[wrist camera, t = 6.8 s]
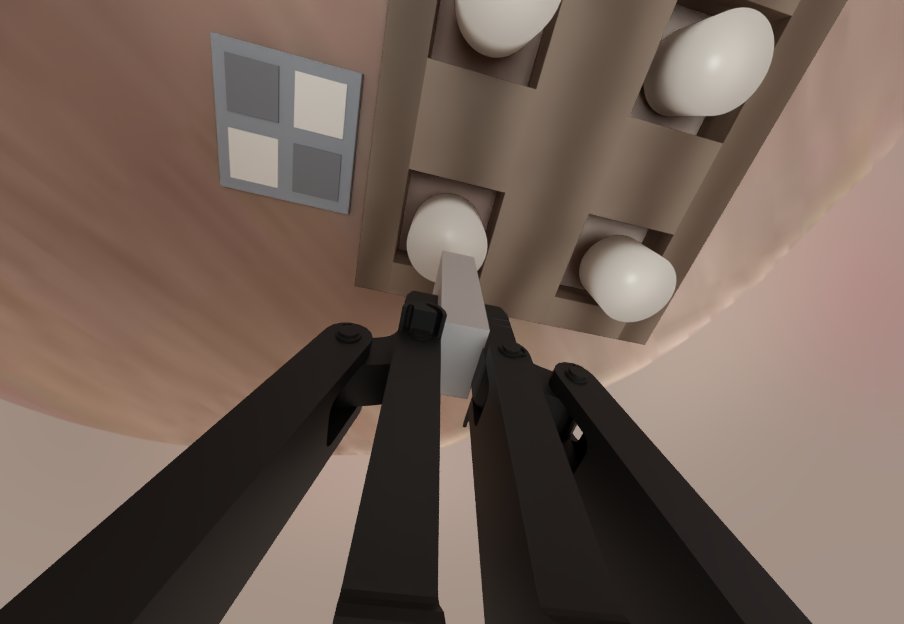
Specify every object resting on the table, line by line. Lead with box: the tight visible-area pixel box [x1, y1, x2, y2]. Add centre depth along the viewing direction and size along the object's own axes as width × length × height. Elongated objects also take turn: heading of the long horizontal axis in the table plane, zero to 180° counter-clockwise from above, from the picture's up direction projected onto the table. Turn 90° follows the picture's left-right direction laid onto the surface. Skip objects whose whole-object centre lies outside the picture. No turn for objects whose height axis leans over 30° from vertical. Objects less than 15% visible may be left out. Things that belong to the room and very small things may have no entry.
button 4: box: [644, 7, 774, 117], centre depth 21 cm, size 5×5×4 cm
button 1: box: [407, 193, 487, 282], centre depth 23 cm, size 5×5×4 cm
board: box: [355, 0, 847, 345], centre depth 24 cm, size 24×24×3 cm
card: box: [210, 32, 364, 215], centre depth 24 cm, size 9×9×1 cm
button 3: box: [579, 235, 676, 322], centre depth 24 cm, size 5×5×4 cm
